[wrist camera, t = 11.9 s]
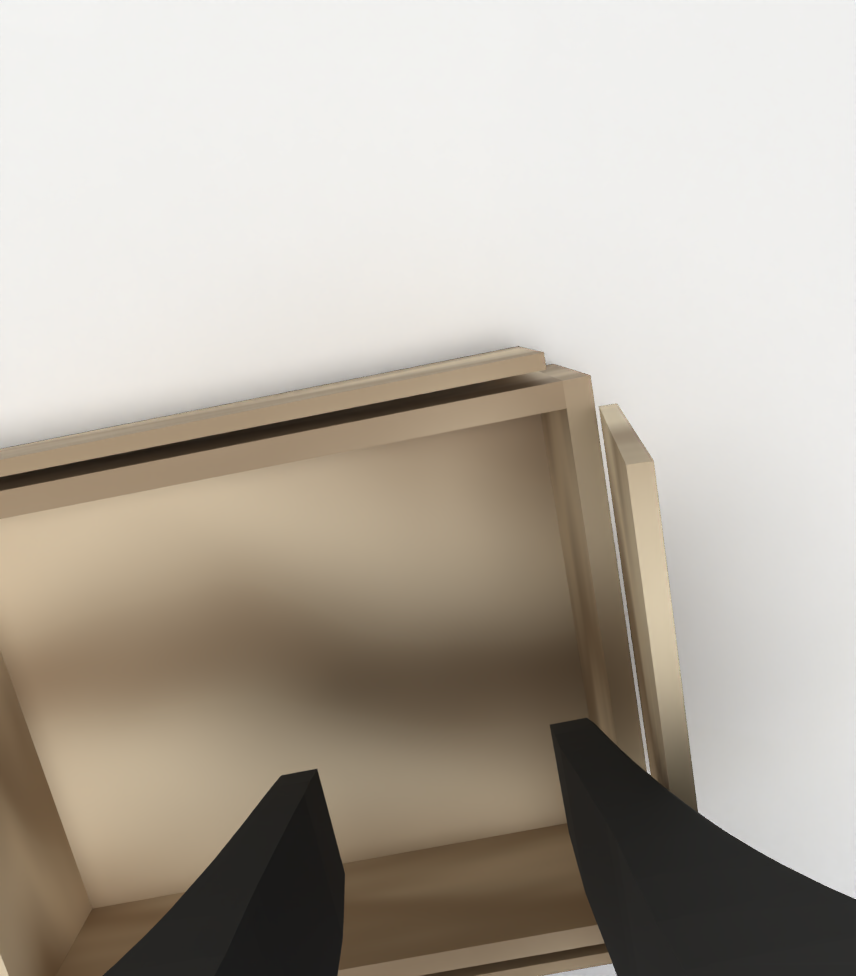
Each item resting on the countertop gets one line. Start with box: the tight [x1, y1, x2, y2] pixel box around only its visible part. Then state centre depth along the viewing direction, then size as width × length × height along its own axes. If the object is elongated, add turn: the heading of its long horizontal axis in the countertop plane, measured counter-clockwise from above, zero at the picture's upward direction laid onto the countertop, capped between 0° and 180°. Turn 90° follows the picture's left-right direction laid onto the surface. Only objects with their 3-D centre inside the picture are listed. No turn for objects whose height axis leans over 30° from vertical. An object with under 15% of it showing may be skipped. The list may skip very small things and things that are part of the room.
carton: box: [0, 346, 647, 976], centre depth 16 cm, size 13×15×4 cm
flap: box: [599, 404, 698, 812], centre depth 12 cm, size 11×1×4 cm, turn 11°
